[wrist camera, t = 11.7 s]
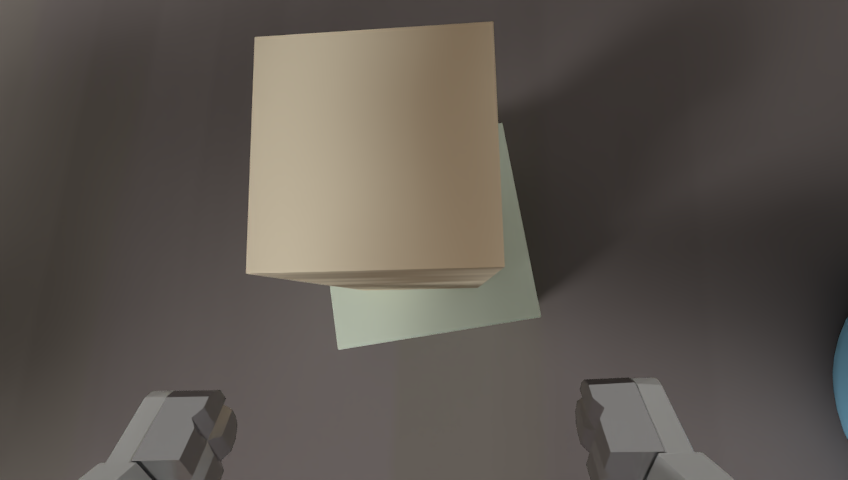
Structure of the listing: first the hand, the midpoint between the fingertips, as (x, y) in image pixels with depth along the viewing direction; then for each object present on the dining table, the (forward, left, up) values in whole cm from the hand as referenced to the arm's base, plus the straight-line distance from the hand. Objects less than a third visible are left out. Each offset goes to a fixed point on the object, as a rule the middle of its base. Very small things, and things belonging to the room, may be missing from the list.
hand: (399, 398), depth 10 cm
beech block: (-4, +3, -7) cm, 9 cm away
